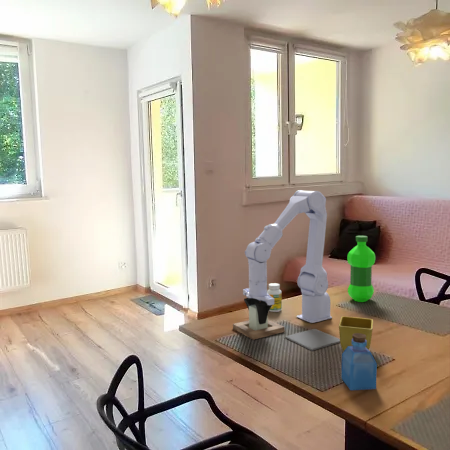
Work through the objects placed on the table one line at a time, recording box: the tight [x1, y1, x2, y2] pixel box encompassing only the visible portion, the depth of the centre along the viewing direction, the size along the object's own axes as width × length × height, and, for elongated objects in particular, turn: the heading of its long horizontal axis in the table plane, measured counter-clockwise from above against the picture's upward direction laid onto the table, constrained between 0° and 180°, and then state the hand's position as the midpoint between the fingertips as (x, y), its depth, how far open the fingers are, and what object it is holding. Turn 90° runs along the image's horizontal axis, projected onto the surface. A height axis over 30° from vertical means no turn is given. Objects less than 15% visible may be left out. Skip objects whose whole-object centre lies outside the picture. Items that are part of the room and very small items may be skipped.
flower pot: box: [338, 316, 374, 352], centre depth 127 cm, size 9×9×9 cm
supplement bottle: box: [267, 282, 283, 313], centre depth 167 cm, size 5×5×10 cm
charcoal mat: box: [285, 328, 341, 351], centre depth 138 cm, size 12×12×1 cm
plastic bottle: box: [347, 235, 376, 303], centre depth 176 cm, size 10×10×25 cm
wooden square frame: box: [232, 319, 286, 341], centre depth 147 cm, size 12×12×2 cm
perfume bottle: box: [341, 333, 378, 391], centre depth 109 cm, size 6×6×12 cm
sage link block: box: [248, 305, 269, 331], centre depth 147 cm, size 4×4×8 cm
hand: (258, 321), depth 147 cm, fingers closed on sage link block, 4 cm apart
